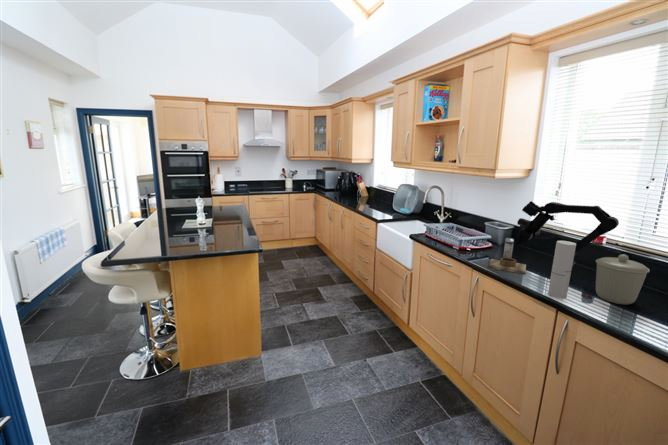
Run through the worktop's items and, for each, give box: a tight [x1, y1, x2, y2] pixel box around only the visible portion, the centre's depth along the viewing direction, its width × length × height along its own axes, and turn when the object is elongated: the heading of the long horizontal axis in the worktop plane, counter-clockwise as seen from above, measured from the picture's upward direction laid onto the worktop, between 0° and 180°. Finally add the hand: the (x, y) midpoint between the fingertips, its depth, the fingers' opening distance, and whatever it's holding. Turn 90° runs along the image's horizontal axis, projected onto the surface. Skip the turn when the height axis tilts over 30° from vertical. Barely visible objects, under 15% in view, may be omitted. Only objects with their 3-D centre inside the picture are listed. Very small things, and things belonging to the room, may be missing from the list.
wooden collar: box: [499, 257, 517, 267], centre depth 186 cm, size 8×8×3 cm
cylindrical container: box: [547, 240, 577, 300], centre depth 148 cm, size 7×7×25 cm
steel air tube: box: [502, 237, 515, 259], centre depth 196 cm, size 5×5×14 cm
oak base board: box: [488, 258, 527, 275], centre depth 187 cm, size 18×14×2 cm
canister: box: [595, 254, 650, 305], centre depth 145 cm, size 18×18×21 cm
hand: (520, 243), depth 187 cm, fingers open, 9 cm apart
